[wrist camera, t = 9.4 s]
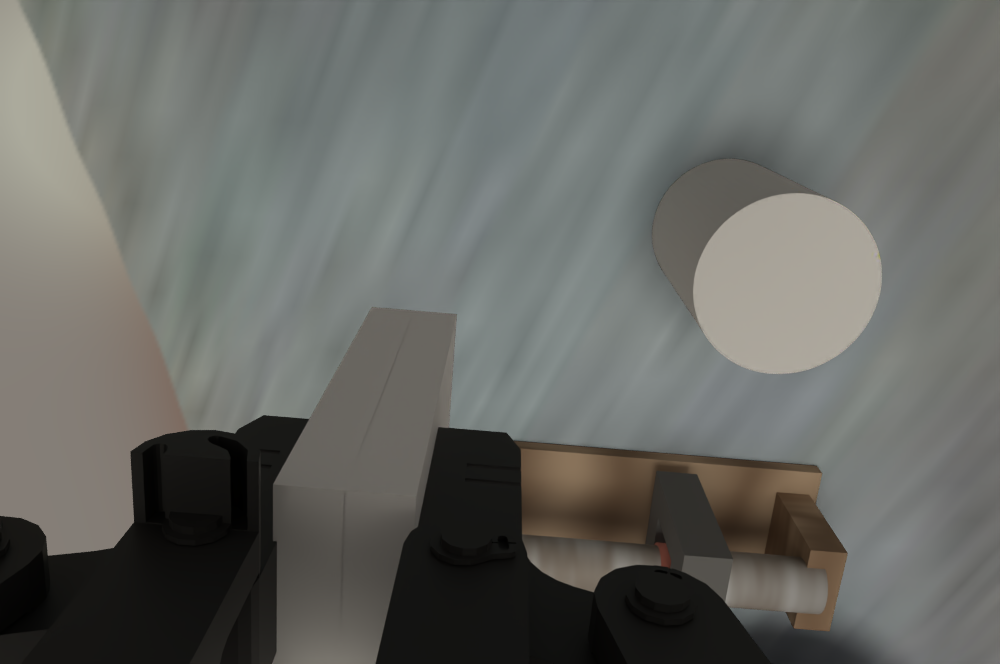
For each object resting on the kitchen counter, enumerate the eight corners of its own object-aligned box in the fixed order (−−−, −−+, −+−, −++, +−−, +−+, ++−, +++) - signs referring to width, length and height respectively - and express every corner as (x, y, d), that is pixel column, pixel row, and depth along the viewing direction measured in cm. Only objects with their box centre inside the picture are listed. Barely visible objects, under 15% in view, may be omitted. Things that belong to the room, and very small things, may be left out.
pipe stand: (390, 544, 56) (368, 630, 48) (395, 431, 54) (374, 500, 45) (792, 577, 56) (840, 668, 48) (816, 465, 54) (871, 541, 46)
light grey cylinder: (756, 320, 51) (826, 399, 40) (629, 270, 50) (662, 336, 39) (822, 191, 49) (916, 235, 37) (689, 136, 48) (744, 163, 36)
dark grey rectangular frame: (638, 587, 54) (661, 689, 45) (656, 470, 51) (684, 555, 43) (677, 590, 54) (707, 693, 45) (696, 474, 51) (733, 559, 43)
